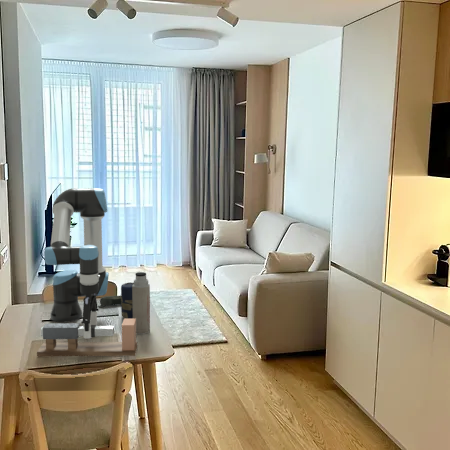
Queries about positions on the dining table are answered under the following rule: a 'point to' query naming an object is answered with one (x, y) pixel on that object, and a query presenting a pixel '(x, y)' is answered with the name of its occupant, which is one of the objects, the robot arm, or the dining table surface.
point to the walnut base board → (83, 349)
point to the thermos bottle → (141, 303)
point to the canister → (127, 301)
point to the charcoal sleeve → (60, 331)
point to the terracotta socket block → (128, 334)
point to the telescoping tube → (94, 330)
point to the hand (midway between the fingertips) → (90, 332)
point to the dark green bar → (110, 301)
